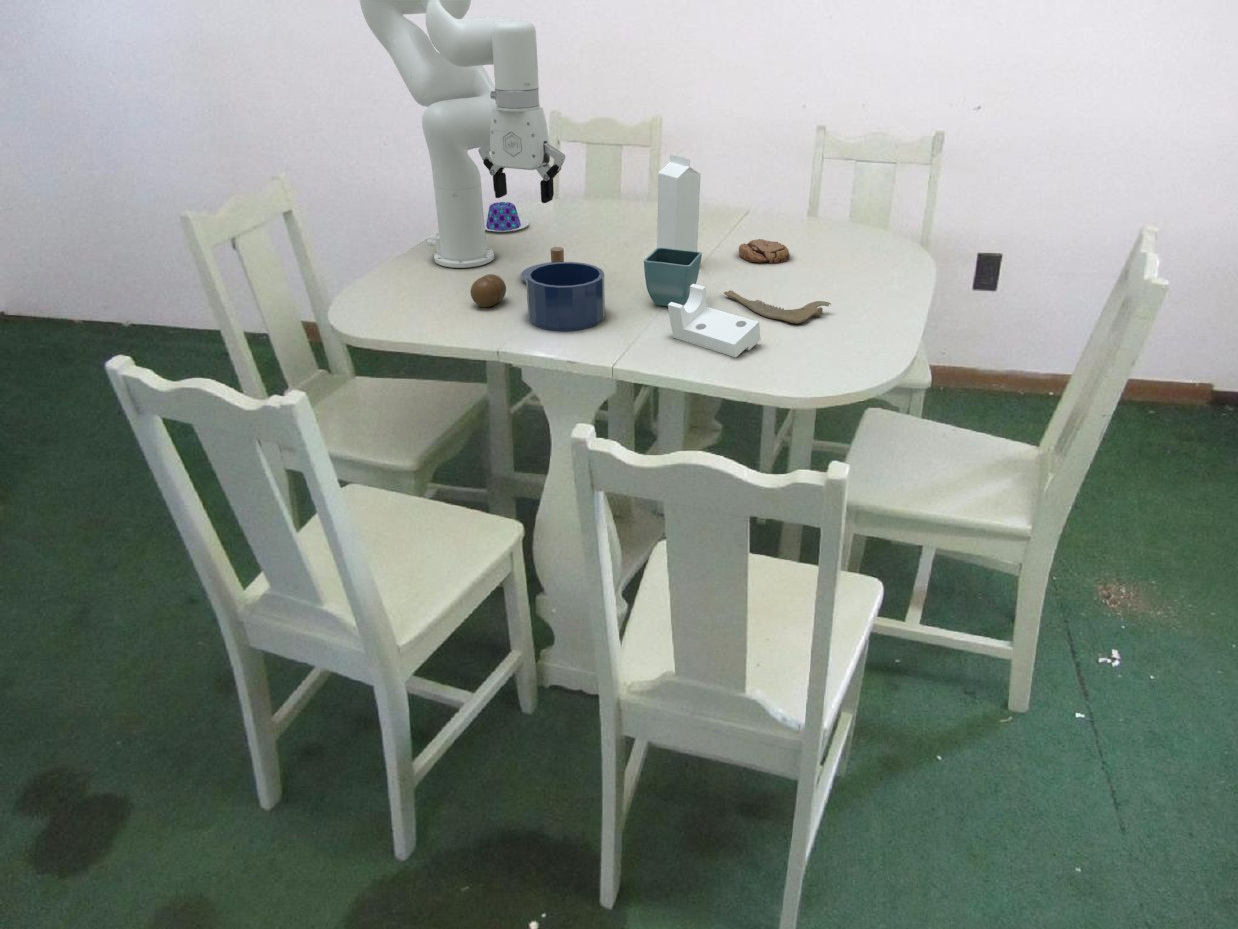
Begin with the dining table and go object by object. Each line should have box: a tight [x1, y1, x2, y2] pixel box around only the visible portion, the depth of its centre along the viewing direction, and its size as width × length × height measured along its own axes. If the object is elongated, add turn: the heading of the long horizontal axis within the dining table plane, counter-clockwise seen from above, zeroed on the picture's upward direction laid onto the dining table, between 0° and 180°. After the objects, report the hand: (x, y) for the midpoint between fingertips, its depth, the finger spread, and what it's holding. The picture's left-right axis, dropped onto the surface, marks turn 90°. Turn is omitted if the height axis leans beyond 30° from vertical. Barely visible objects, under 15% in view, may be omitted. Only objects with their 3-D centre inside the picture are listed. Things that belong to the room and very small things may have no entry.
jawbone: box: [723, 289, 832, 324], centre depth 165 cm, size 9×20×2 cm, turn 63°
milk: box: [656, 153, 701, 252], centre depth 182 cm, size 6×6×22 cm
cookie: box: [738, 238, 790, 264], centre depth 192 cm, size 10×11×3 cm
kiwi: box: [470, 273, 507, 308], centre depth 168 cm, size 8×5×5 cm
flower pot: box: [643, 247, 703, 307], centre depth 167 cm, size 9×9×9 cm
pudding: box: [484, 201, 530, 233], centre depth 211 cm, size 12×12×5 cm
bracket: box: [667, 283, 762, 359], centre depth 151 cm, size 13×7×8 cm, turn 49°
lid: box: [520, 246, 565, 284], centre depth 179 cm, size 15×15×6 cm
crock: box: [525, 261, 606, 332], centre depth 161 cm, size 14×14×8 cm
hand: (523, 198), depth 166 cm, fingers open, 9 cm apart
